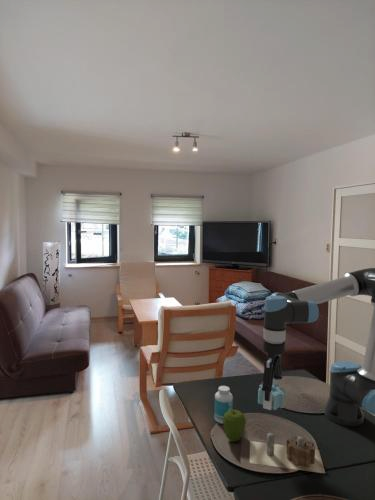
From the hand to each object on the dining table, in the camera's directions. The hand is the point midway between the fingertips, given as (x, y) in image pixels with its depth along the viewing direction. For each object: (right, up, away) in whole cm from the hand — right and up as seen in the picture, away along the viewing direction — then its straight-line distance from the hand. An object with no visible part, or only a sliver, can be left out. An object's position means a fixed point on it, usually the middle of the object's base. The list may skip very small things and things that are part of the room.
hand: (271, 402), depth 122 cm
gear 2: (+9, -17, -4) cm, 20 cm away
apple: (-12, -18, +7) cm, 23 cm away
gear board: (+4, -19, -3) cm, 19 cm away
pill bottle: (-15, -17, +21) cm, 31 cm away
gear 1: (0, 0, 0) cm, 0 cm away
